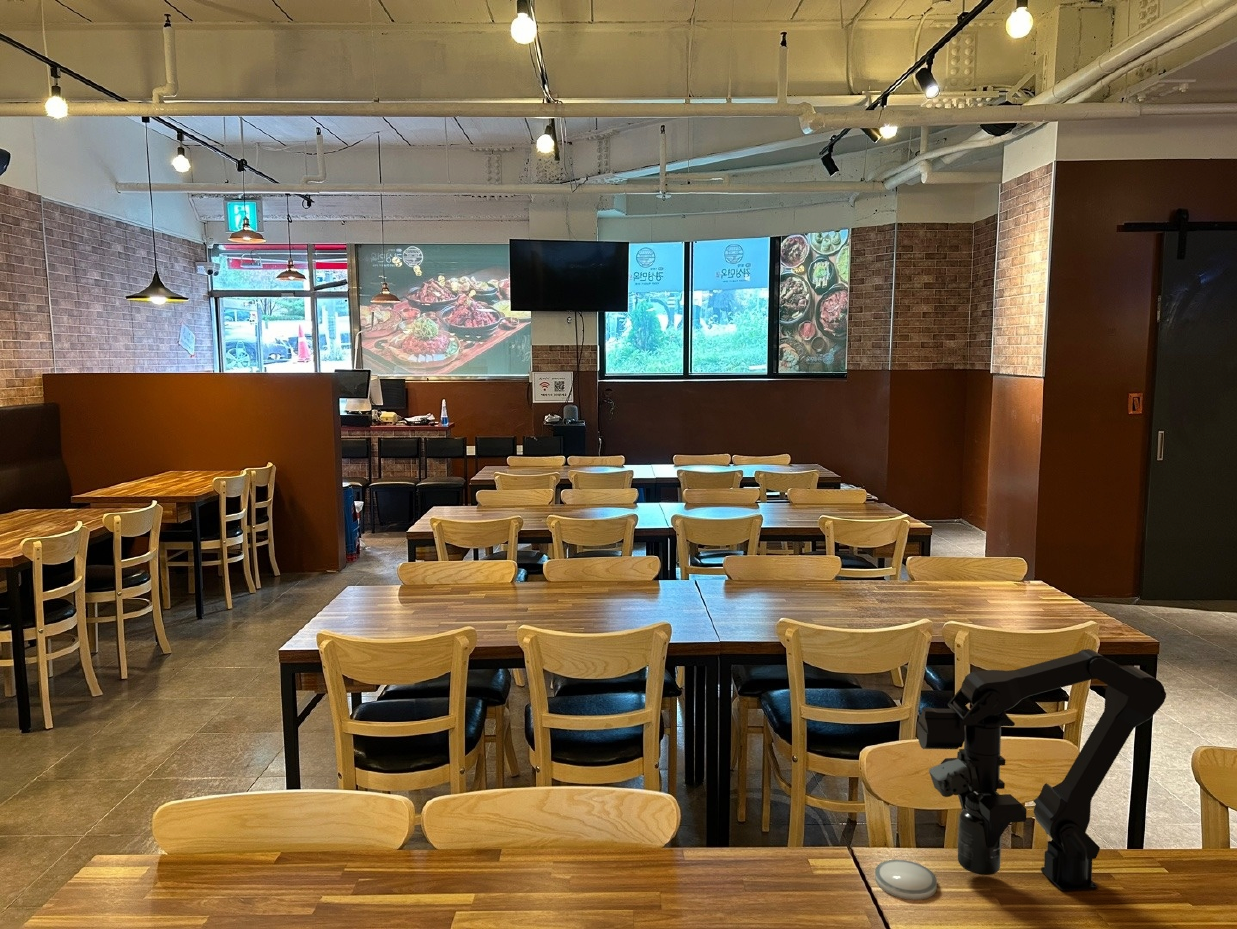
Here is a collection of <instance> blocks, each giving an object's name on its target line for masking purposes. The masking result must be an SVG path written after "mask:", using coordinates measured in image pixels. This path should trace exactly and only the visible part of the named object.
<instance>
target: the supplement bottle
mask: <svg viewBox="0 0 1237 929" xmlns="http://www.w3.org/2000/svg"><path fill="white" fill-rule="evenodd" d="M982 798H983V797H982V796H981V795H977V794H976V793H969V794H967V795H966V802H965V807H966V808H965V809H963V810H962V809H961V811H960V813H959V814H958V815H959V816H958V832H957V833H958V835H957V836H958V837H957V861H958V864H959V865H960V867H962V868H963V869H964V870H965V871H968V872H970V873H972V874H975V875H980V876H992V875H995V874H997V873H999V871H1000V870H1001V862H1002V861H1001V857H1002V856H1001V855H1002V836H1001V837H1000V838H999V840H998V841H997V843H996V844H995V846H994V847H993V848H988V847H987V846H986V840H985V830H984V819H983V818H982V817H981V816H980V815H979V814H978V813H977V812H976V810H980V808H979V801H980V800H981V799H982Z"/></svg>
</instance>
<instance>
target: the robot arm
mask: <svg viewBox="0 0 1237 929" xmlns="http://www.w3.org/2000/svg"><path fill="white" fill-rule="evenodd" d="M1091 680H1098V681H1100V682H1102V683H1103V684H1105V685H1107V686H1106V688H1105V691H1104V693H1105V694H1104V710H1103V711H1102V714H1101V715H1100V718H1098V721H1097V722H1096V724H1095V726H1094V727H1093V729H1092V731H1091V733H1090V734H1089V736H1088V737H1087V739H1086V741H1085V743H1084V745H1083V746H1082V748H1081V750H1080V751H1079V753H1078V755H1077V757H1076V758H1075V760H1074V762H1073V763H1072V765H1071V766H1070V768H1069V770H1068V772H1067V774H1066V775H1065V777H1064V779H1063V780H1062V781H1060V783H1058V784H1056V785H1054V786H1052V785H1050V784H1048V782H1047V783H1044V785H1043V786H1042V789H1041V790H1040V794H1038V796H1037V797H1036V798H1035V799H1033V801H1032V802H1033V803H1034V808H1033V814H1034V818H1035V820H1036V822H1037V823H1038V825H1040V827H1041V828H1042V829H1043V830H1044V832H1045V834H1046V835H1048V836H1049V838H1051V840H1048V841H1047V842H1046V843H1047V844H1046V847H1047V848H1046V850H1045V851H1044V864H1043V865H1044V866H1042V867H1040V871H1041V872H1042V873H1043V874H1044V875H1045V876H1046V877H1047V878H1048V879H1049V880H1050V881H1051V882H1052V883H1053V884H1054V885H1055V886H1056V887H1057V888H1058V889H1059V890H1060V891H1062V892H1068V891H1070V892H1071V891H1085V890H1086V891H1088V890H1090V891H1091V890H1098V884H1096V883H1095V882H1094V881H1093V860H1095V859H1097V858H1098V855H1099V852H1100V850H1101V847H1100V846H1099V844H1097V842H1095V840H1093V838H1092V837H1091V836H1089V834H1088V833H1087V829H1088V828H1089V824H1090V821H1091V809H1092V807H1091V806H1092V800H1093V798H1094V796H1095V795H1096V792H1097V791H1098V789H1099V787H1100V786H1101V785H1102V783H1103V781H1104V779H1105V778H1106V776H1107V774H1108V772H1109V771H1110V769H1111V767H1112V766H1113V764H1114V762H1115V761H1116V759H1117V757H1118V755H1119V754H1120V752H1121V750H1122V748H1123V747H1124V745H1125V743H1126V742H1127V740H1128V739H1129V737H1130V735H1131V734H1132V732H1133V730H1134V729H1135V728H1136V727H1139V726H1140V725H1141V724H1143V723H1145V722H1147V721H1149V720H1150V719H1152V717H1153V716H1154V715H1156V713H1157V712H1158V711H1159V709H1160V708H1161V707H1162V706H1163V704H1164V703H1165V700H1166V698H1167V692H1166V690H1165V686H1164V685H1163V684H1162V682H1161V681H1160V680H1159V679H1157V678H1155V677H1154V676H1152V675H1150V674H1148V673H1147V672H1145V671H1144V670H1141V669H1140V668H1138V667H1136V666H1133V665H1124V666H1121V665H1120V664H1118V663H1116V662H1114V661H1112V660H1110V659H1108V658H1107V657H1105V656H1104V655H1102V654H1100V653H1098V652H1097V651H1095V650H1093V649H1089V648H1087V649H1082V650H1080V651H1078V652H1076V653H1072V654H1069V655H1066V656H1062V657H1058V658H1053V659H1050V660H1046V661H1043V662H1039V663H1036V664H1033V665H1029V666H1028V665H1027V666H1024V667H1021V668H1017V669H1012V670H1011V669H1010V670H1003V669H1001V670H1000V669H987V670H976V671H972V672H970V673H968V674H967V675H965V676H964V678H963V681H962V682H961V687H960V688H959V689H958V691H957V692H956V693H955V694H954V696H952V698H951V699H950V700H949V702H948V703H947V706H948V707H949V708H934V707H928V706H926V707H924V706H923V707H922V708H921V714H920V715H919V716H918V721H917V722H916V732H917V739H918V743H919V746H920V747H921V749H923V750H958V751H957V755H956V757H949V758H948V757H946V758H944V759H943V760H942V761H941V762H940V764H938V765H935V766H933V767H931V768H929V769H928V773H929V777H930V778H931V781H932V785H933V787H934V789H936V790H937V792H939V793H940V795H941V796H942V797H945V798H949V797H952V796H958V800H959V803H960V807H961V811H962V810H963V809H965V808H966V807H965V802H966V795H967V794H969V793H976V794H977V795H981V796H982V797H983V798H982V799H981V800H980V801H979V808H980V810H976V812H977V813H978V814H979V815H980V816H981V817H982V818H983V819H984V830H985V840H986V846H987V847H988V848H993V847H994V846H995V844H996V843H997V841H998V840H999V838H1000V837H1001V838H1002V835H1003V834H1004V832H1005V831H1006V829H1007V828H1008V826H1010V824H1011V823H1025V822H1027V813H1028V812H1027V810H1028V809H1027V808H1026V807H1025V806H1024V805H1023V804H1022V803H1021V802H1020V801H1019V800H1018V799H1016V798H1015V796H1013V795H1012V794H1009V793H1008V794H1006V793H1005V794H1000V793H999V792H998V790H1005V786H1006V784H1005V782H1004V781H1003V780H1002V779H1001V777H1000V776H1001V774H1000V773H1001V772H1000V770H1001V766H1006V758H1005V757H1003V756H1002V755H1001V746H1002V744H1001V743H1002V727H1014V726H1015V724H1016V723H1015V721H1013V720H1012V719H1011V718H1010V717H1009V716H1008V715H1007V712H1006V711H1009V710H1011V709H1012V708H1014V707H1015V706H1016V705H1018V704H1019V703H1020V702H1022V700H1023V699H1026V698H1029V697H1031V696H1035V695H1040V694H1042V693H1045V692H1051V691H1054V690H1057V689H1061V688H1062V689H1063V688H1066V687H1068V686H1069V687H1070V686H1073V685H1076V684H1080V683H1084V682H1088V681H1091ZM969 704H970V706H971V707H970V709H969V707H968V706H967V705H969ZM962 747H963V748H962Z"/></svg>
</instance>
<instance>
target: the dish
mask: <svg viewBox="0 0 1237 929" xmlns="http://www.w3.org/2000/svg"><path fill="white" fill-rule="evenodd" d="M874 879H875V883H876V884H877V886H878V887H879V888H880V889H882V890H883V891H884V892H885V893H887V894H890V895H892V896H894V897H897V898H900V899H905V900H915V901H916V900H925V899H928V898H930V897H932V896H933V895H935V893H936V892H937V884H938V883H937V881H938V880H937V877H936V875H935V873H933V871H932V870H931V869H929V868H927V867H926V866H924V865H922V864H920V863H917V862H915V861H910V860H905V859H890V860H885V861H882V862H880V863H878V865H877V866H876V867H875V872H874Z"/></svg>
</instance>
